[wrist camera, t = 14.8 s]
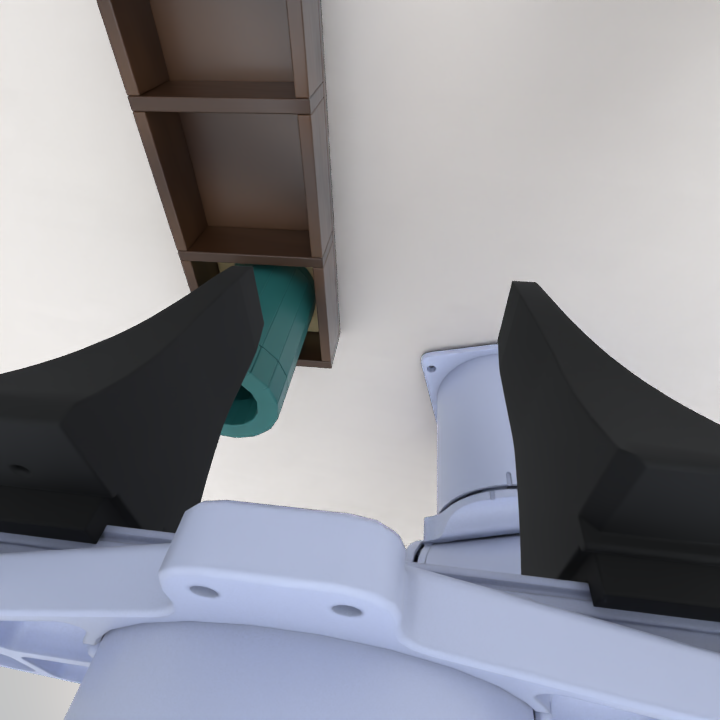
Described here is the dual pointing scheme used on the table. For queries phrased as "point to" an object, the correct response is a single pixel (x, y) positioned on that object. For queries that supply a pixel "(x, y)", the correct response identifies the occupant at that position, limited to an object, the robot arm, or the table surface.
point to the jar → (273, 348)
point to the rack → (236, 137)
